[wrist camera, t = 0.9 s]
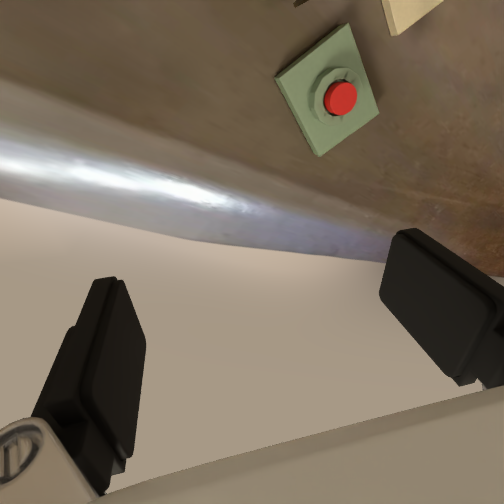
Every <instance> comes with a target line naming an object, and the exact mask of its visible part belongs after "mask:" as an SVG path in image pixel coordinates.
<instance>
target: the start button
mask: <svg viewBox="0 0 504 504" xmlns="http://www.w3.org/2000/svg"><path fill="white" fill-rule="evenodd" d="M356 100H357V91H356V88H355V87H354V86H353V85H352V84H351V83H348V82H336V83H334V84H332V85H331V86H330V87H329V89H328V90H327V92H326V94H325V99H324V102H325V106H326V108H327V110H328V111H329V112H331V113H334V114H337V115H345V114H347V113H348V112H350V111H351V110H352V109H353V107H354V106H355V104H356Z"/></svg>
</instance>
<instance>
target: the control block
mask: <svg viewBox="0 0 504 504" xmlns="http://www.w3.org/2000/svg"><path fill="white" fill-rule="evenodd" d="M275 80H276V82H277V84H278V86H279V88H280V90H281V91H282V93H283V95H284V97H285V99H286V101H287V103H288V105H289V107H290V109H291V111H292V113H293V114H294V116H295V118H296V120H297V122H298V124H299V126H300V128H301V130H302V132H303V134H304V135H305V137H306V139H307V141H308V143H309V145H310V147H311V149H312V151H313V153H314V154H316V155H317V156H319V157H320V156H321V155H323V154H324V153H326V152H327V151H328V150H330V149H331V148H333V147H334V146H335V145H337V144H338V143H339V142H341V141H342V140H344V139H345V138H346V137H348V136H349V135H350V134H352V133H353V132H355V131H356V130H357V129H359V128H360V127H361V126H363V125H364V124H366V123H367V122H368V121H370V120H371V119H373V118H374V117H375V116H377V115H378V114H379V111H378V108H377V105H376V102H375V99H374V96H373V93H372V90H371V87H370V84H369V81H368V78H367V75H366V72H365V69H364V67H363V64H362V61H361V58H360V55H359V52H358V49H357V46H356V43H355V40H354V37H353V34H352V31H351V28H350V25H349V23H346V24H342V25H339V26H338V27H337V28H336V29H334V30H333V31H332V32H331V33H329V34H328V35H327V36H326V37H324V38H323V39H322V40H321V41H319V42H318V43H317V44H316V45H314V46H313V47H312V48H311V49H309V50H308V51H307V52H306V53H304V54H303V55H302V56H301V57H299V58H298V59H297V60H296V61H294V62H293V63H292V64H291V65H289V66H288V67H287V68H286V69H284V70H283V71H282V72H281V73H279V74H278V75H277V76H276V77H275ZM336 82H348V83H351V84H352V85H353V86H354V87H355V88H356V91H357V100H356V104H355V106H354V107H353V109H352V110H351V111H350V112H348V113H347V114H345V115H337V114H334V113H331V112H329V111H328V110H327V108H326V106H325V102H324V99H325V94H326V92H327V90H328V89H329V87H330V86H331V85H332V84H334V83H336Z"/></svg>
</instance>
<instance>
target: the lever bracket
mask: <svg viewBox="0 0 504 504" xmlns="http://www.w3.org/2000/svg"><path fill="white" fill-rule="evenodd" d="M381 1H382V5H383V8H384V12H385V16H386V19H387V23H388V27H389V30H390V34H391V36H396V35H399V34H400V33H402V32H403V31H404V30H406V29H407V28H408V27H410V26H411V25H412V24H413V23H415V22H416V21H417V20H419V19H420V18H421V17H423V16H424V15H425V14H427V13H428V12H429V11H430V10H432V9H433V8H434V7H436V6H437V5H438V4H440V3H441V2H442V1H444V0H381Z"/></svg>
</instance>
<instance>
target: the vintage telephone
mask: <svg viewBox="0 0 504 504" xmlns="http://www.w3.org/2000/svg"><path fill="white" fill-rule="evenodd" d="M306 1H308V0H297V1H295V2H294V3H293V4H294V7H295V8H296V7H297V6H299V5H301V4H303V3H305V2H306Z"/></svg>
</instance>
